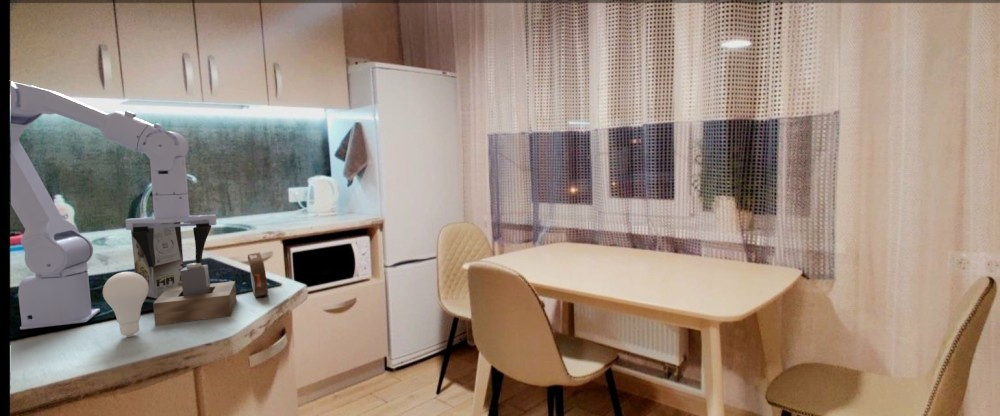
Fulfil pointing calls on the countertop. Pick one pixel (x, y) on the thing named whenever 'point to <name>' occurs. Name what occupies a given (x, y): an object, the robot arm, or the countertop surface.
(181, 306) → the holder
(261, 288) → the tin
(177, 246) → the coffee box
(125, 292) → the lightbulb
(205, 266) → the plug
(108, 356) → the countertop surface
